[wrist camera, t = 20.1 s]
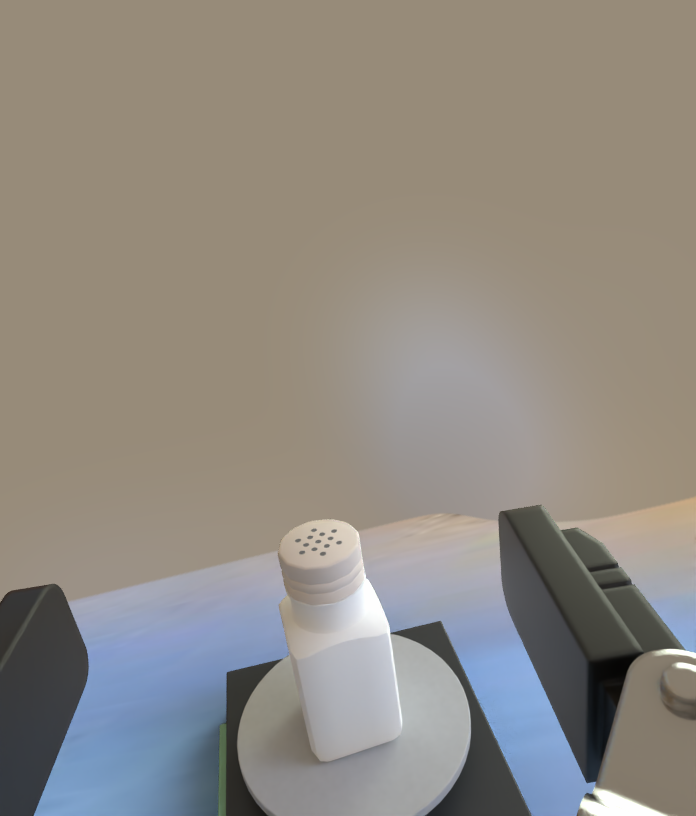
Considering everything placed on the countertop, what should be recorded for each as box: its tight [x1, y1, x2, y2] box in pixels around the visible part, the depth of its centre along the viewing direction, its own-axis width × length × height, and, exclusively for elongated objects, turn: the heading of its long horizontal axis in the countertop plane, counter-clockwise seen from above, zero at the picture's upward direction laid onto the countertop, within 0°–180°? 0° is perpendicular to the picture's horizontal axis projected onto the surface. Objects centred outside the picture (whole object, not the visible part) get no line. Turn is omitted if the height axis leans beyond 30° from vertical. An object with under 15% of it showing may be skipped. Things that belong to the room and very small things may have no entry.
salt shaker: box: [278, 519, 402, 762], centre depth 26 cm, size 4×4×10 cm
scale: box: [218, 621, 532, 816], centre depth 28 cm, size 12×12×4 cm
